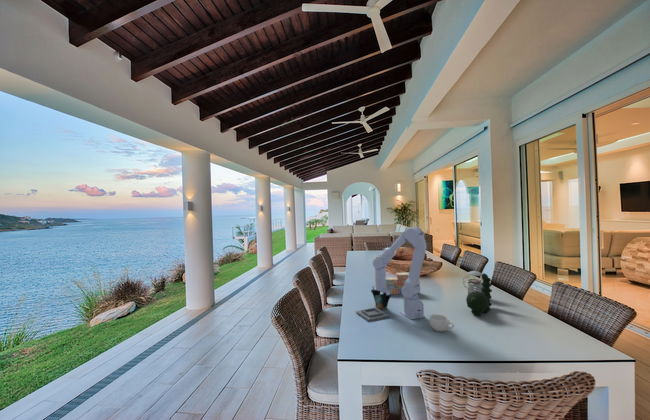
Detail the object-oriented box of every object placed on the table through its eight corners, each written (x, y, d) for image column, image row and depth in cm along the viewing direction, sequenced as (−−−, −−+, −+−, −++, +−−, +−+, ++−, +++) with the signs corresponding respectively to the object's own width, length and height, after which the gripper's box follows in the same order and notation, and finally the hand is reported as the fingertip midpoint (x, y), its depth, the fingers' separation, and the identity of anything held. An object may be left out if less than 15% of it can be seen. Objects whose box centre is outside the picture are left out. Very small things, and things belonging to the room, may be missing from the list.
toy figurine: (477, 306, 154) (461, 315, 136) (477, 271, 155) (461, 275, 137) (497, 310, 147) (483, 321, 129) (497, 273, 148) (483, 278, 130)
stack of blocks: (383, 294, 175) (382, 274, 175) (382, 291, 181) (381, 272, 181) (418, 294, 173) (417, 274, 173) (415, 291, 179) (415, 272, 179)
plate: (389, 317, 138) (389, 313, 138) (368, 321, 133) (368, 317, 133) (375, 309, 149) (375, 305, 149) (356, 313, 144) (356, 309, 144)
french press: (488, 299, 160) (487, 256, 160) (468, 299, 161) (467, 256, 161) (479, 294, 170) (478, 253, 170) (460, 294, 171) (459, 253, 170)
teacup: (427, 330, 123) (426, 317, 123) (434, 324, 128) (433, 312, 128) (450, 336, 116) (450, 323, 116) (456, 330, 121) (456, 318, 121)
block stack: (386, 308, 150) (386, 296, 150) (380, 309, 148) (379, 297, 148) (382, 305, 154) (382, 294, 154) (375, 307, 152) (375, 295, 152)
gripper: (367, 277, 156) (367, 301, 156) (381, 283, 143) (382, 310, 143) (377, 276, 159) (378, 300, 159) (393, 282, 146) (393, 308, 146)
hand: (381, 304), depth 151 cm, fingers open, 7 cm apart
